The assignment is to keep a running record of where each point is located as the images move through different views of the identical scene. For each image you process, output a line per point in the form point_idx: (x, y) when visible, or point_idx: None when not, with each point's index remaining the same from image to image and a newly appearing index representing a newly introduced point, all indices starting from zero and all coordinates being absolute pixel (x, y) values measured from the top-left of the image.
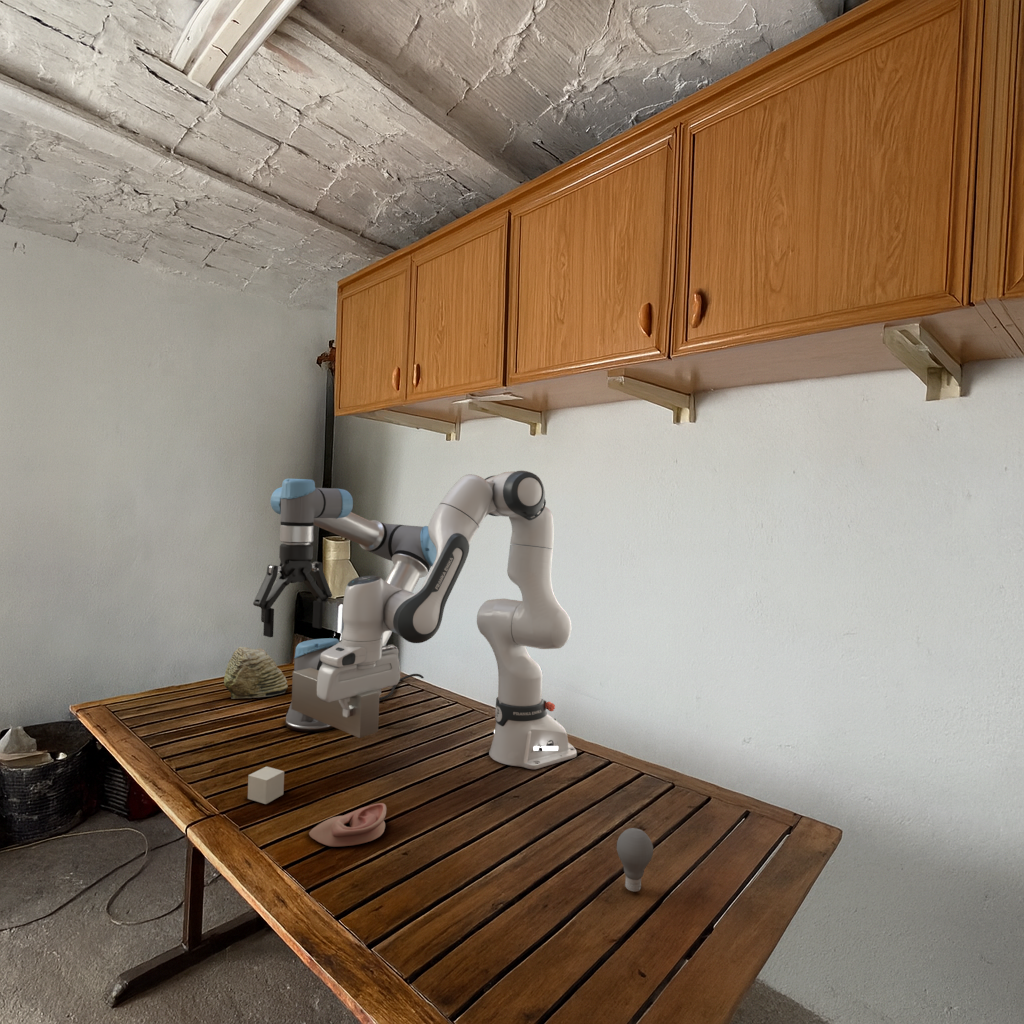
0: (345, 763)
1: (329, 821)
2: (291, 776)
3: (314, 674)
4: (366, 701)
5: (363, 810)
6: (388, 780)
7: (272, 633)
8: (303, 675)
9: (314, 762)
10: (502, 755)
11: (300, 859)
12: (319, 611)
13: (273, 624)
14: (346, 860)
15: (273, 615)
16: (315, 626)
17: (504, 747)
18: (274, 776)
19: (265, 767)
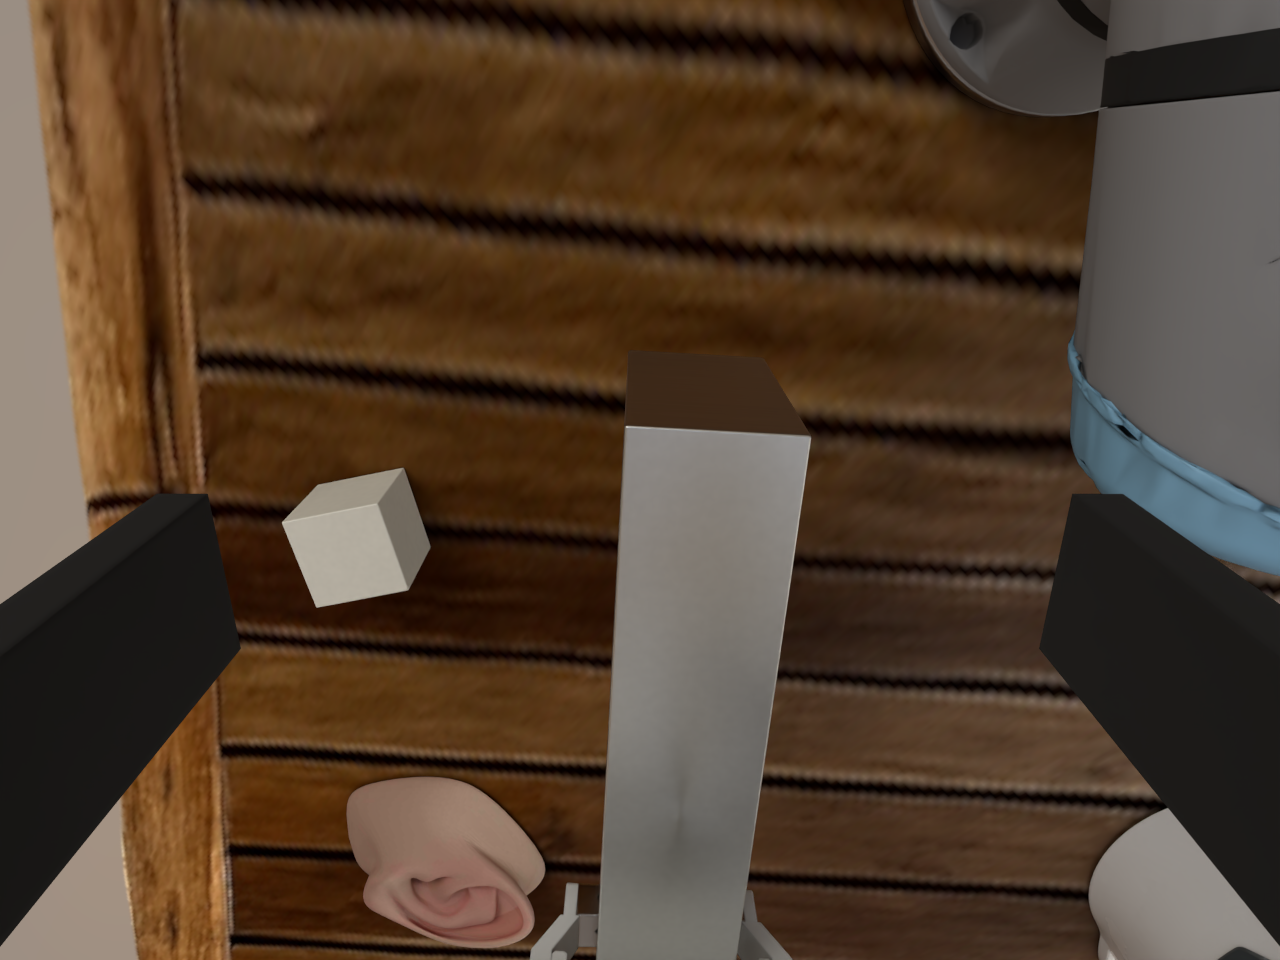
0: None
1: (399, 831)
2: (537, 444)
3: (694, 610)
4: None
5: (484, 885)
6: None
7: (202, 678)
8: (618, 573)
9: None
10: (1111, 902)
11: (279, 850)
12: (1216, 845)
13: (136, 774)
14: (363, 918)
15: (15, 914)
16: (1069, 569)
17: (1133, 929)
18: (356, 599)
19: (367, 511)
